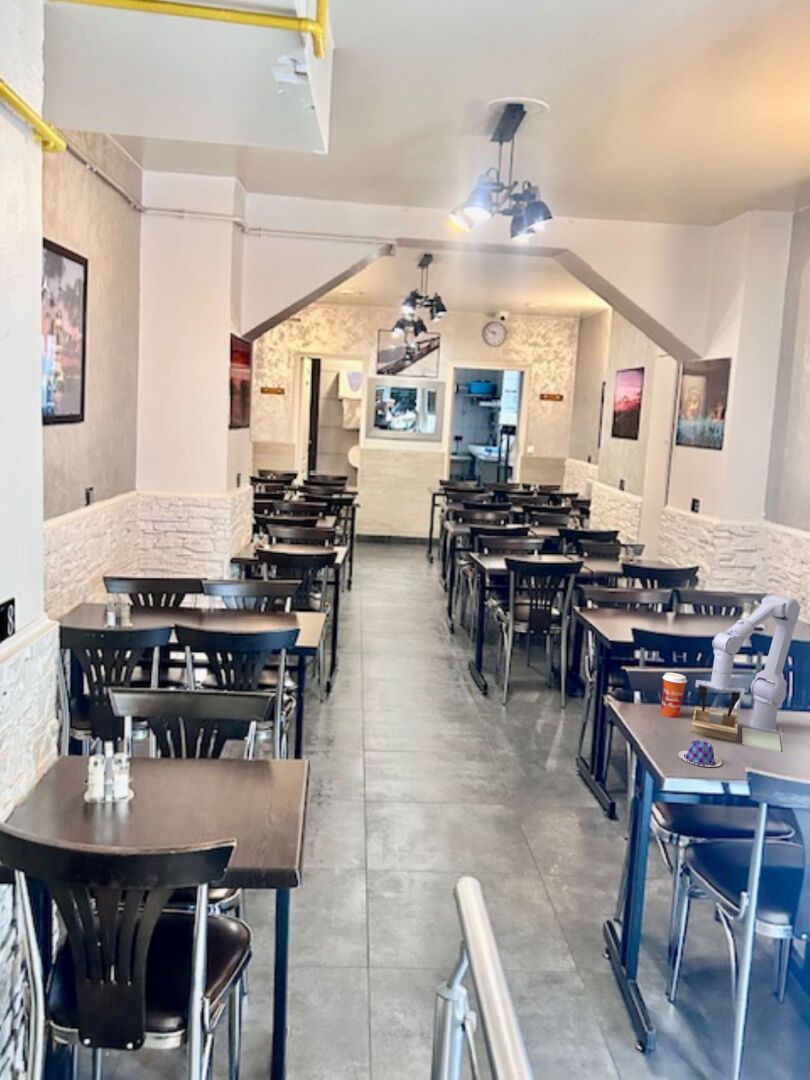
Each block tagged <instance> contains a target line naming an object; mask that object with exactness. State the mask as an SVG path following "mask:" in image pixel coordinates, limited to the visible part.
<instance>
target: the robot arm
mask: <svg viewBox="0 0 810 1080" xmlns="http://www.w3.org/2000/svg"><path fill="white" fill-rule="evenodd" d="M760 604H761V605H759V607H757V608H756V609H755V610H754V611H753V612H752V613H751V614H750V615H749V616H748V617H747V618H746V619H738V620H737V621H736V622H735V623H734V624H733V625H732V626H731V627H729V628H728V629H727V630H725V631H724V632H719V633H716V635H715V636H714V638H713V640H712V641H711V643H712V644H711V645H712V648H713V655H714V659H713V665H712V673H711V678H710V679H711V680H699V679H696V680H695V688H698V693H699V696H700V700H701V707H702V711H705V707H706V697H707V691H708V690H713V691H718V692H723V693H729V694H730V701H729V702H730V703H729V706H728V710H727V712H728V716H730V715H731V712H732V713H733V710H734V708H735V706H736V704H737V703H738V701H739V700H740V699H741V696H743V697H745V691H746V688H744V687H739V686H734V685H733V684H731V681H732V674H733V668H734V661H735V654H737V653H738V652H739V651H740V649H741V646H743V643H744V642H745V641H746V640H747V639H749V638H750V637H751V636H752V635H753V634H754V632H755V628H756V627H757V626H759V625H760V624H762V623H763V622H765V621H766V620H768V619H769V618H773V620H774V622H775V623H776V626H775V629H774V633H773V638H772V640H771V645H770V648H769V652H768V656H767V658H766V662H765V666H764V669H763V670H761V671H759V672H757V673H756V674H755V678H754V679H753V681H752V682H751V685H750V692H751V694H752V695H753V697H752V698H753V699H754V705H753V710H752V717H751V718H749V726H750V727H751V728H753V729H757V730H764V731H767V732H772V733H777V724H776V722H777V716H778V710H779V705H781V704H782V703H783V702H784V701H785V699H786V697H787V686H788V682H787V680H785V678H784V676H783V675H782V674H783V671H784V667H785V664H786V660H787V656H788V653H789V649H790V647H791V646H790V645H791V641H792V639H793V634H794V632H795V629H796V625H797V623H798V619H799V616H800V611H801V609H802V608H801V607H802V606H801V605H800V603H799V601H798V600H797V599H796V598H789V597H787V596H786V597H785V596H782V595H779V594H775V593H773V592H769V593H768V594H767V595H765V596H764V597H763V598H762V599H761V603H760Z"/></svg>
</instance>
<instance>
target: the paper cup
mask: <svg viewBox="0 0 810 1080" xmlns="http://www.w3.org/2000/svg"><path fill="white" fill-rule="evenodd" d="M662 680H663V682H662V693H661V694H662V695H661V707H660V709H661V710H660V714H661V715H662V716H664V717H667V718H672V719H674V718H675V719H677V718H679V716H680V712H681V707H682V706H681V705H682V701H683V697H684V693H685V692H684V691H685V686H686V683H688V680H687V678H686V676H685V675H683V674H682V673H681V674H680V673H677V672H676V673H675V672H665V673H664V675H663V676H662Z"/></svg>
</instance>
